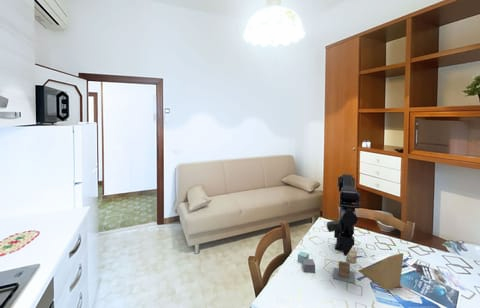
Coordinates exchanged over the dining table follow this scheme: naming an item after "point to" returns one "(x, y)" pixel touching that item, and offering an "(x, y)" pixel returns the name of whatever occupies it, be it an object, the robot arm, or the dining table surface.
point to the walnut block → (344, 269)
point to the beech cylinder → (351, 256)
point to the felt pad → (350, 279)
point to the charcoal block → (308, 265)
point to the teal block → (302, 256)
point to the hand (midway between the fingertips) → (345, 250)
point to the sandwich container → (385, 271)
